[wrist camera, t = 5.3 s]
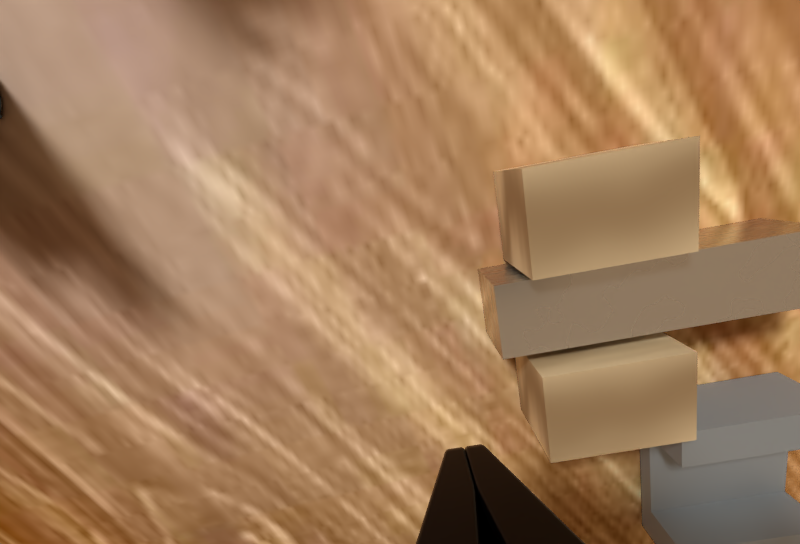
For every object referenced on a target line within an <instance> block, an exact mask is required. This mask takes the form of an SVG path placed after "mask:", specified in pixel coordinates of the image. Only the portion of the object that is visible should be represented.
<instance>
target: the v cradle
mask: <svg viewBox="0 0 800 544" xmlns="http://www.w3.org/2000/svg"><path fill="white" fill-rule="evenodd" d="M799 449H800V383H798V382H796V381H794V380H792V379H790V378H788V377H786V376H784V375H782V374H780V373H778V372H774V373H768V374H762V375H756V376H750V377H744V378H738V379H732V380H726V381H720V382H713V383H707V384H701V385H697V438H696V440H694V441H687V442H681V443H675V444H668V445H662V446H656V447H650V448H643V449H640V467H641V499H642V526H643V527H644V528H645V530H646V531H647V533H648V534H649V535H650V537H651V538H652V540H653V541H654V542H655V544H800V503H799V502H797V501H796V500H795V499H794V498H792V497H791V496H790V495H789V494H787V493H786V492H785V482H786V470H787V457H788V451H793V450H799Z"/></svg>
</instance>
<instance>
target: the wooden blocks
mask: <svg viewBox="0 0 800 544" xmlns="http://www.w3.org/2000/svg"><path fill="white" fill-rule="evenodd" d="M493 173H494V181H495V190H496V198H497V207H498V216H499V224H500V233H501V241H502V250H503V258H504V260H505V261H507V262H508V263H509V264H511V265H512V266H514V267H515V268H516V269H518V270H519V271H520V272H522V273H523V274H525V275H526V276H527V277H529V278H530V279H531V280H539V279H544V278H550V277H556V276H561V275H567V274H573V273H579V272H584V271H590V270H596V269H601V268H607V267H613V266H618V265H624V264H630V263H636V262H641V261H647V260H653V259H658V258H664V257H670V256H675V255H681V254H687V253H693V252H698V251H699V175H700V136H695V137H688V138H681V139H674V140H668V141H661V142H654V143H647V144H641V145H634V146H628V147H622V148H617V149H612V150H606V151H601V152H595V153H590V154H585V155H579V156H574V157H568V158H563V159H558V160H552V161H547V162H541V163H536V164H531V165H525V166H520V167H514V168H509V169H504V170H498V171H493ZM515 361H516V370H517V378H518V387H519V396H520V404H521V410H522V412H523V413H524V415H525V417H526V419H527V421H528V423H529V424H530V426H531V428H532V430H533V432H534V433H535V435H536V437H537V439H538V441H539V443H540V444H541V446H542V448H543V450H544V452H545V454H546V455H547V457H548V459H549V461H550V463H556V462H562V461H568V460H574V459H581V458H587V457H593V456H599V455H606V454H612V453H618V452H625V451H631V450H637V449H643V448H650V447H656V446H662V445H668V444H675V443H681V442H687V441H694V440H696V438H697V351H695V350H693V349H691V348H690V347H688V346H686V345H684V344H683V343H681V342H679V341H677V340H676V339H674V338H672V337H670V336H669V335H667V334H665V333H663V332H660V333H655V334H649V335H643V336H637V337H631V338H625V339H620V340H614V341H608V342H602V343H596V344H590V345H585V346H579V347H573V348H567V349H561V350H555V351H550V352H544V353H538V354H532V355H526V356H520V357H515Z"/></svg>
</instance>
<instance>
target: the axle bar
mask: <svg viewBox="0 0 800 544" xmlns="http://www.w3.org/2000/svg"><path fill="white" fill-rule="evenodd" d="M478 274H479V281H480V289H481V296H482V303H483V311H484V318H485V325H486V332H487V334H488V335H489V337H490V339H491V340H492V342H493V343H494V345H495V347H496V348H497V350H498V352H499V353H500V355H501V357H502V358H503V359H509V358H515V357H520V356H526V355H532V354H538V353H544V352H550V351H555V350H561V349H567V348H573V347H579V346H585V345H590V344H596V343H602V342H608V341H614V340H620V339H625V338H631V337H637V336H643V335H649V334H655V333H660V332H666V331H672V330H678V329H684V328H690V327H695V326H701V325H707V324H713V323H719V322H725V321H730V320H736V319H742V318H748V317H754V316H760V315H765V314H771V313H777V312H783V311H789V310H795V309H800V223H799V222H789V221H780V220H770V219H761V218H759V219H753V220H748V221H742V222H737V223H731V224H726V225H720V226H714V227H709V228H703V229H699V251H698V252H693V253H687V254H681V255H675V256H670V257H664V258H658V259H653V260H647V261H641V262H636V263H630V264H624V265H618V266H613V267H607V268H601V269H596V270H590V271H584V272H579V273H573V274H567V275H561V276H556V277H550V278H544V279H539V280H531V279H530V278H529V277H527V276H526V275H525V274H523V273H522V272H520V271H519V270H518V269H516V268H515V267H514V266H512V265H511V264H509V263H508V264H503V265H497V266H491V267H486V268H480V269H478Z"/></svg>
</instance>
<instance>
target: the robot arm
mask: <svg viewBox="0 0 800 544" xmlns="http://www.w3.org/2000/svg"><path fill="white" fill-rule="evenodd" d="M416 544H585V543H584V542H583V541H582V540H581V539H580V538H579V537H578V536H576V535H575V534H574V533H573V532H572V531H571V530H570V529H569V528H568V527H567V526H566V525H565V524H564V523H563V522H562V521H561V520H560V519H559V518H558V517H557V516H556V515H555V514H554V513H553V512H552V511H551V510H550V509H549V508H548V507H547V506H546V505H545V504H544V503H543V502H542V501H540V500H539V499H538V498H537V497H536V496H535V495H534V494H533V493H532V492H531V491H530V490H529V489H528V488H527V487H526V486H525V485H524V484H523V483H522V482H521V481H520V480H519V479H518V478H517V477H516V476H515V475H514V474H513V473H512V472H511V471H510V470H509V469H508V468H507V467H505V466H504V465H503V464H502V463H501V462H500V461H499V460H498V459H497V458H496V457H495V456H494V455H493V454H492V453H491V452H490V451H489V450H488V449H487V448H486V447H485V446H484V445H481V444H480V445H473V446H467V447H466V448H465V450H464V448H462V447H460V448H454V449H448V450H446V452H445V454H444V457H443V461H442V464H441V467H440V470H439V473H438V476H437V479H436V483H435V486H434V489H433V492H432V495H431V498H430V501H429V505H428V508H427V511H426V514H425V517H424V520H423V523H422V527H421V530H420V533H419V536H418V539H417V542H416Z"/></svg>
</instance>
